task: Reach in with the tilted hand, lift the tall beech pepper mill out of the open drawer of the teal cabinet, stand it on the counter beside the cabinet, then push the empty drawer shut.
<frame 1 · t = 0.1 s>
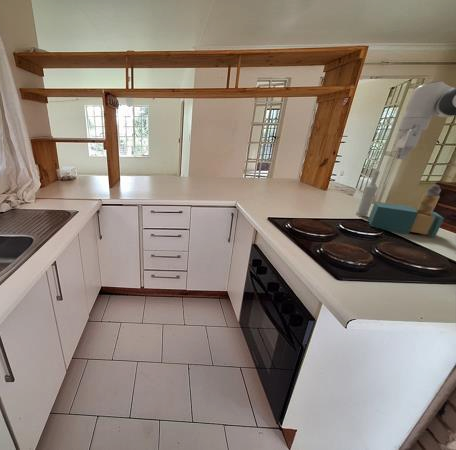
hand: (400, 159, 106), 32 cm above the worktop, tool pointing down, fingers open, 8 cm apart
bottle: (361, 215, 135), on the worktop
drawer: (417, 221, 110), point 5 cm above the worktop, slide at 7.0 cm, touching pepper mill
pepper mill: (416, 228, 111), point 2 cm above the worktop, touching drawer
cabinet: (386, 227, 117), on the worktop
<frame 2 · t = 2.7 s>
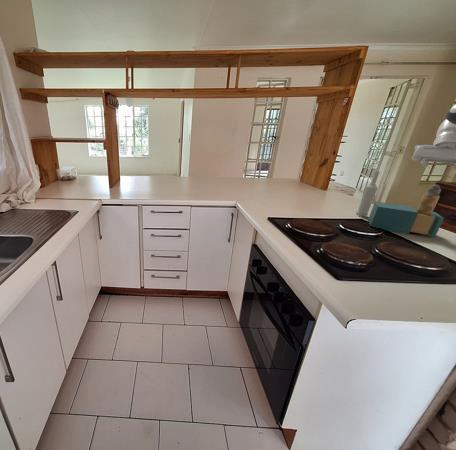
hand: (439, 168, 109), 29 cm above the worktop, tool tilted 45°, fingers open, 8 cm apart
nothing on the worktop moved.
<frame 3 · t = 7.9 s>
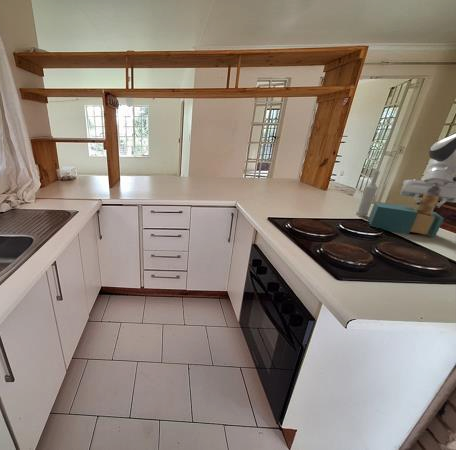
hand: (427, 205, 106), 13 cm above the worktop, tool tilted 45°, fingers closed on pepper mill, 5 cm apart
pepper mill: (416, 228, 111), point 2 cm above the worktop, touching drawer, gripper
everything else where it was.
when the fingers open (11 cm above the worktop, at t = 16.8 s): pepper mill stays where it is, on the worktop.
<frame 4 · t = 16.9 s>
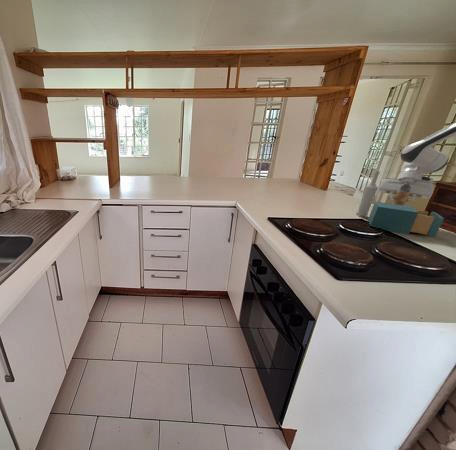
hand: (400, 200, 123), 11 cm above the worktop, tool tilted 45°, fingers open, 5 cm apart
drawer: (417, 221, 110), point 5 cm above the worktop, slide at 7.0 cm
pepper mill: (391, 220, 127), on the worktop
everything else where it was.
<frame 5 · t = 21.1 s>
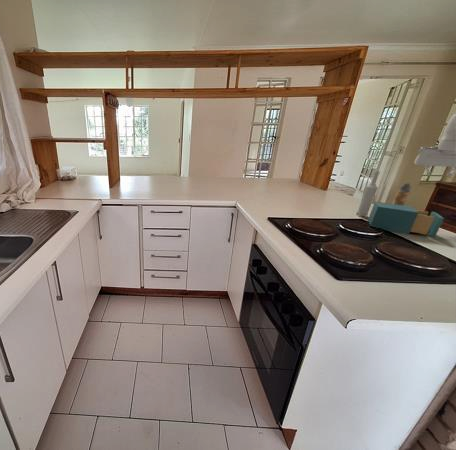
hand: (437, 175, 119), 25 cm above the worktop, tool pointing down, fingers open, 6 cm apart
nothing on the worktop moved.
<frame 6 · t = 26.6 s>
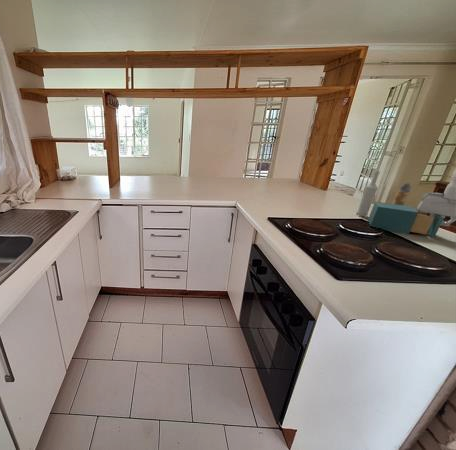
hand: (443, 225, 105), 5 cm above the worktop, tool pointing down, fingers closed
drawer: (417, 221, 110), point 5 cm above the worktop, slide at 6.9 cm, touching gripper
everything else where it was.
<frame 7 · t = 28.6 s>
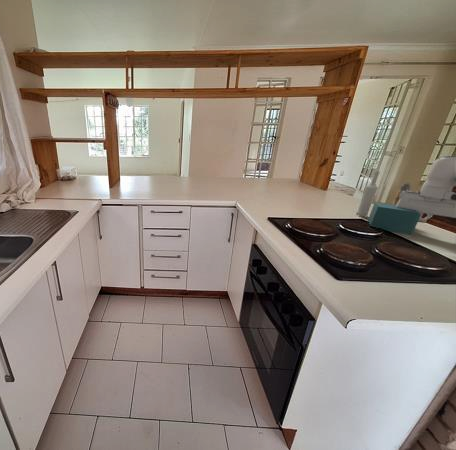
hand: (420, 222, 109), 5 cm above the worktop, tool pointing down, fingers closed
drawer: (397, 218, 114), point 5 cm above the worktop, slide at 0.0 cm, touching cabinet, gripper
everything else where it was.
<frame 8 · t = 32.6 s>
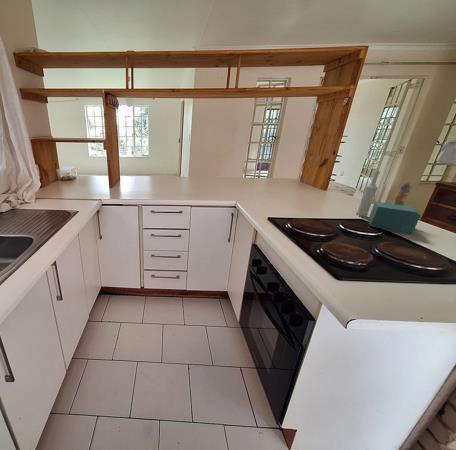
drawer: (397, 218, 114), point 5 cm above the worktop, slide at 0.0 cm, touching cabinet
everything else where it was.
at the end: pepper mill inside the target area (0.0 cm from its centre), on the worktop; pepper mill tilted 0°; drawer slide at 0.0 cm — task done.
